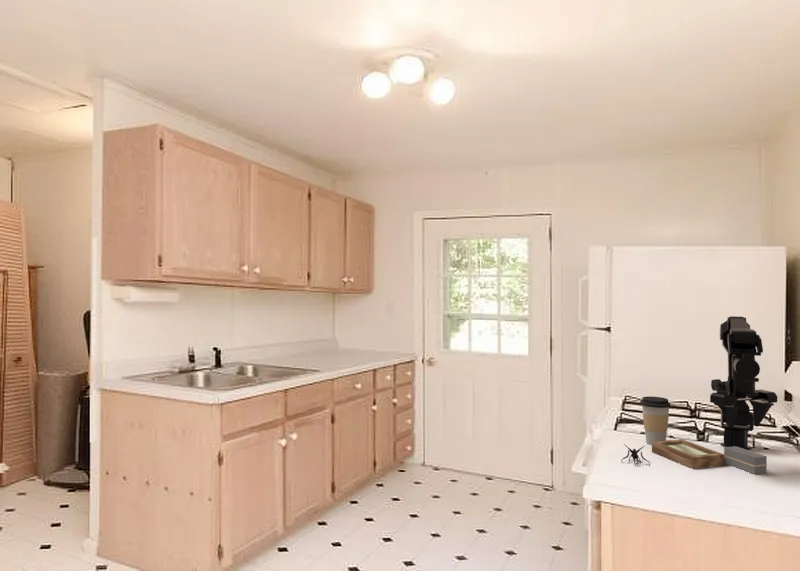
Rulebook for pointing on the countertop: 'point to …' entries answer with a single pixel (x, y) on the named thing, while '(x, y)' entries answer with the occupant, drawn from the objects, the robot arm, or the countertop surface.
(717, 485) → the countertop surface
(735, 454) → the glasses case
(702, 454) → the wooden picture frame
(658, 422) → the coffee cup
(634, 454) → the creature
